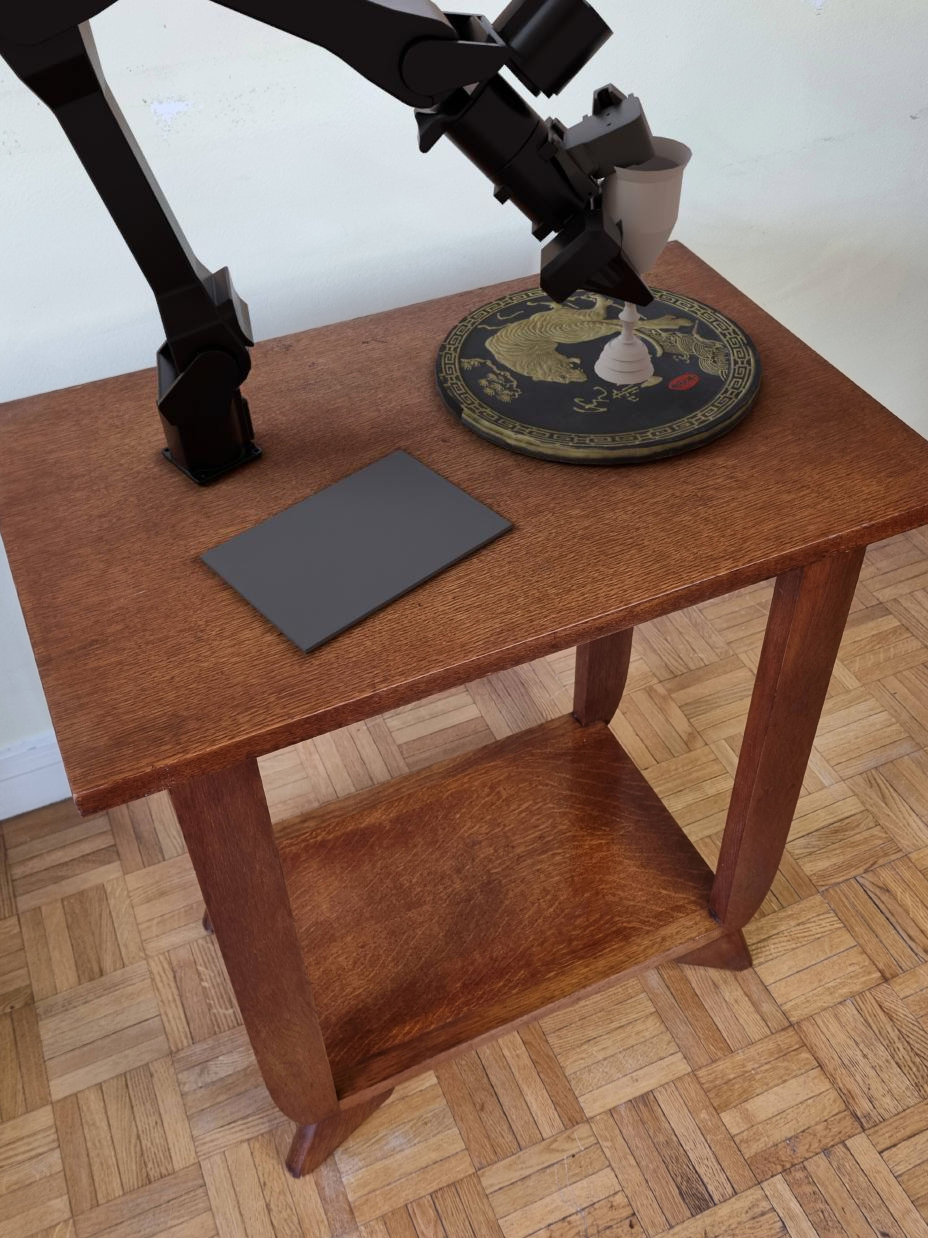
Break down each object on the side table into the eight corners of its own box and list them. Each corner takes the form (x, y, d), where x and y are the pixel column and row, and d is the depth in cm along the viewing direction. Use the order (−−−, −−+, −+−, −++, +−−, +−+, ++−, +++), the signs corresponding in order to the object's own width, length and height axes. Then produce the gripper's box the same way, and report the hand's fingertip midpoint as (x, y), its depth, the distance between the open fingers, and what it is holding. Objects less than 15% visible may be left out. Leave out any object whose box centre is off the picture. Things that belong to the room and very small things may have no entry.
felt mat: (305, 654, 77) (305, 650, 76) (200, 559, 84) (199, 555, 84) (512, 527, 86) (512, 523, 85) (400, 452, 93) (400, 448, 93)
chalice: (601, 341, 96) (618, 130, 84) (675, 356, 94) (704, 142, 82) (571, 380, 92) (585, 162, 79) (648, 398, 89) (675, 177, 77)
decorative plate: (835, 372, 96) (565, 494, 85) (831, 391, 98) (564, 513, 86) (619, 251, 115) (374, 339, 104) (618, 268, 116) (375, 356, 105)
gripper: (596, 111, 70) (744, 274, 77) (591, 21, 83) (717, 167, 90) (475, 229, 76) (623, 370, 83) (489, 128, 89) (615, 257, 96)
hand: (647, 285), depth 88 cm, fingers closed on chalice, 5 cm apart
